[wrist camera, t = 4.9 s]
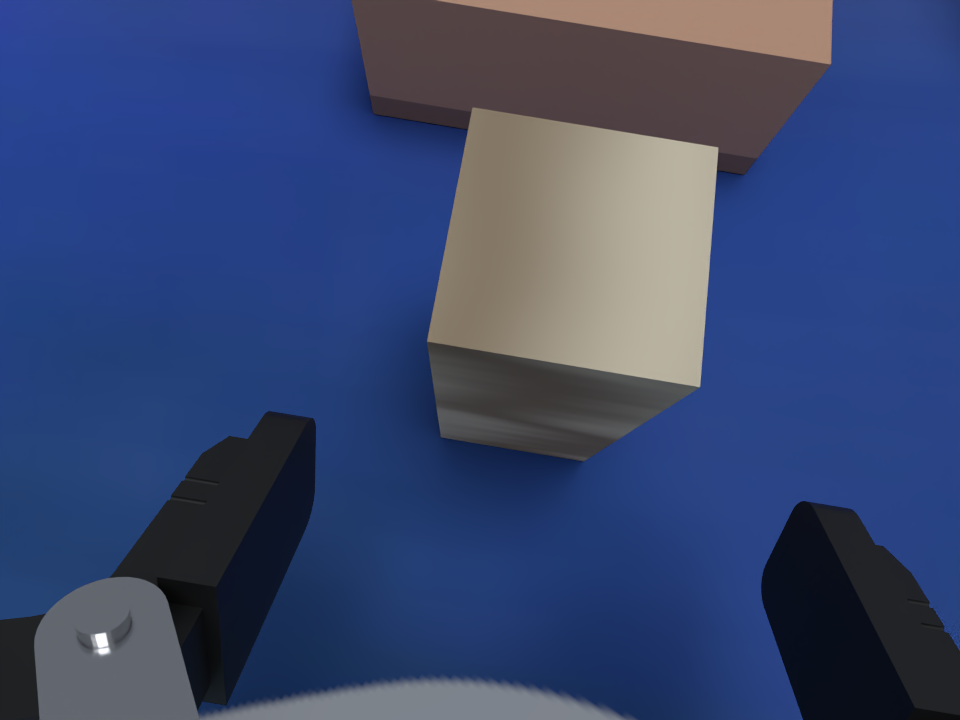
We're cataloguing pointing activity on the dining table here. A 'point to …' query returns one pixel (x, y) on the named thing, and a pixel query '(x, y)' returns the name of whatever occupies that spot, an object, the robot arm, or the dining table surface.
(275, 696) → the dining table surface
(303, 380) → the dining table surface
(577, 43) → the well
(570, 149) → the post
